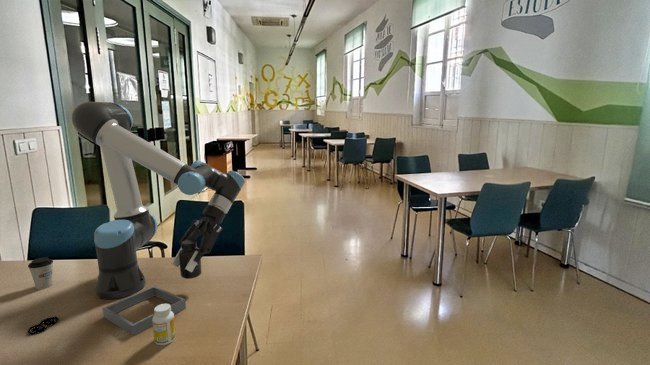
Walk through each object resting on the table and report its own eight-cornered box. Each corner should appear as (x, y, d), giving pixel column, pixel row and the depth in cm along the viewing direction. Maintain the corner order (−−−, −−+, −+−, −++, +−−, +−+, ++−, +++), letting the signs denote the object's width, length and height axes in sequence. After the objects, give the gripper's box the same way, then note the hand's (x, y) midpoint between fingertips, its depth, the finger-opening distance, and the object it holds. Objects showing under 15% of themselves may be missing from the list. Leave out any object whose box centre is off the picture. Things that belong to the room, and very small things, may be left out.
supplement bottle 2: (194, 280, 116) (191, 246, 113) (176, 278, 117) (173, 244, 115) (205, 271, 122) (203, 238, 120) (188, 269, 124) (185, 237, 121)
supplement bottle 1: (160, 348, 91) (156, 315, 89) (150, 340, 94) (147, 308, 92) (179, 338, 95) (176, 306, 93) (170, 331, 98) (167, 300, 97)
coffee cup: (27, 288, 122) (22, 262, 121) (49, 280, 129) (44, 254, 127) (39, 292, 120) (34, 265, 118) (61, 283, 126) (57, 257, 124)
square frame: (103, 317, 105) (102, 308, 105) (155, 293, 119) (154, 285, 118) (133, 335, 96) (132, 325, 96) (185, 308, 110) (185, 299, 109)
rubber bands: (63, 320, 104) (63, 317, 104) (37, 337, 96) (36, 333, 96) (49, 318, 105) (49, 315, 105) (22, 334, 97) (21, 331, 97)
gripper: (242, 218, 124) (207, 279, 113) (205, 211, 134) (171, 265, 124) (229, 207, 118) (192, 270, 108) (192, 200, 129) (155, 256, 119)
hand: (181, 267), depth 116 cm, fingers closed on supplement bottle 2, 7 cm apart
